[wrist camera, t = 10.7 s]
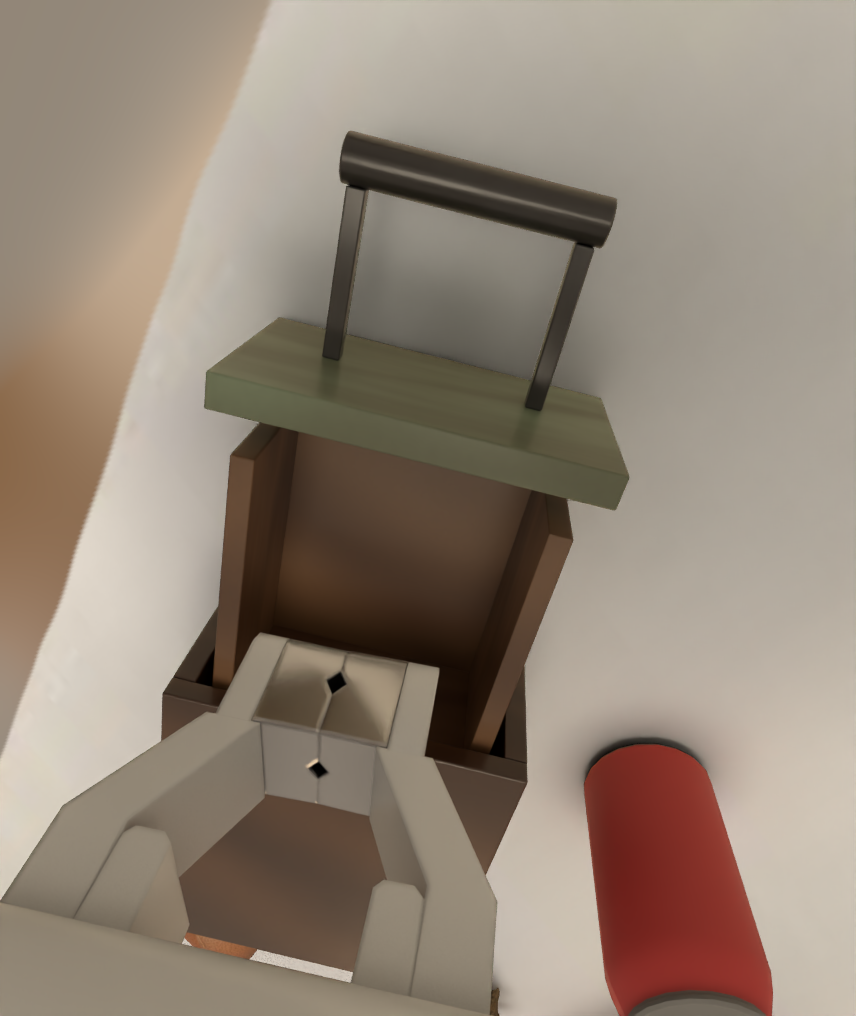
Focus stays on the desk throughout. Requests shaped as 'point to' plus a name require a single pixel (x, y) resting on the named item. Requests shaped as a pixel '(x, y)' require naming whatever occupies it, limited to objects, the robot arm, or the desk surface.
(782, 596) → the desk surface
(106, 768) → the desk surface
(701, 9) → the desk surface
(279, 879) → the cabinet
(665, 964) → the beer can
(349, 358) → the drawer
